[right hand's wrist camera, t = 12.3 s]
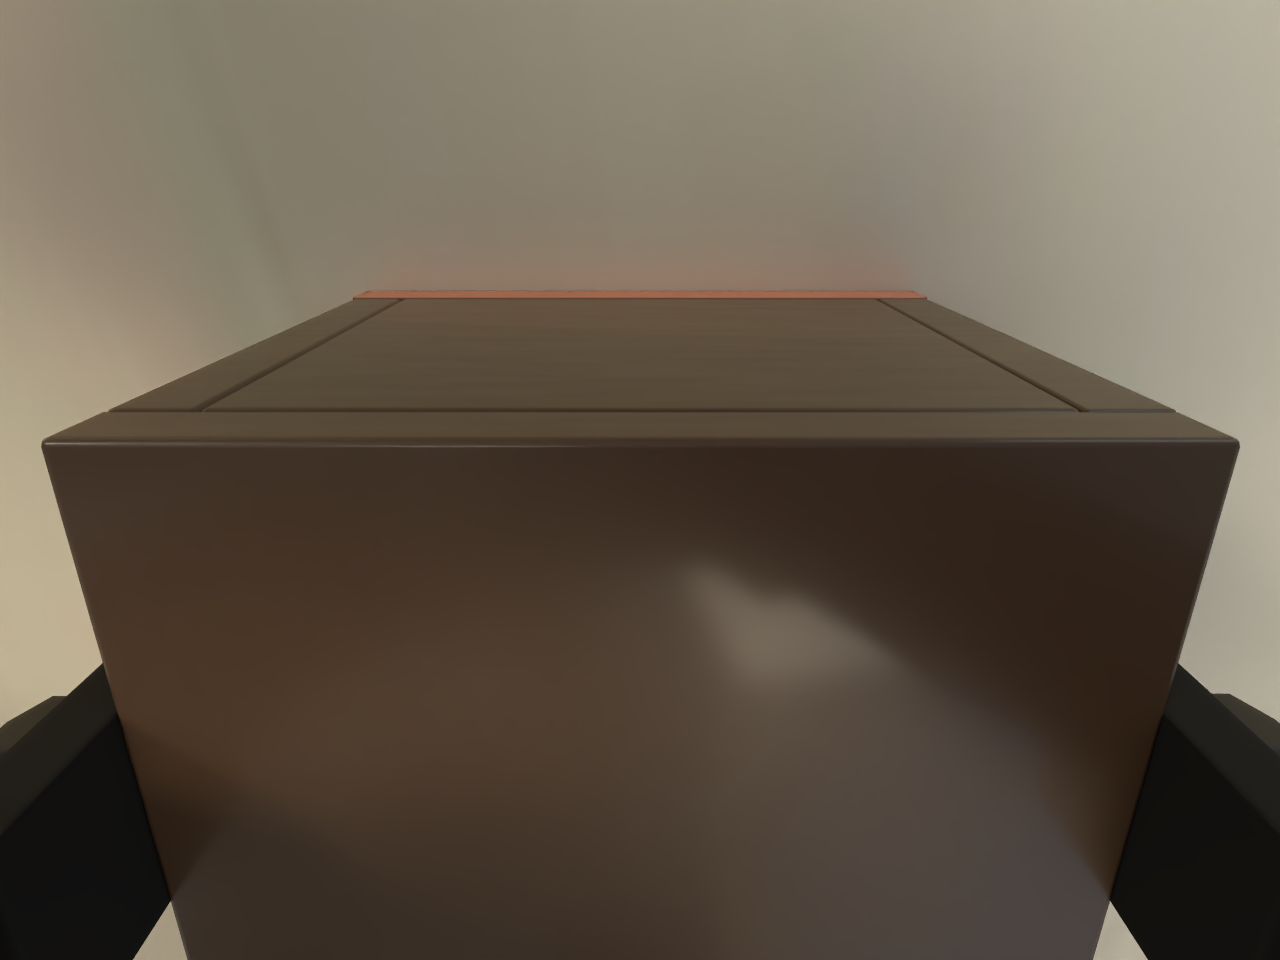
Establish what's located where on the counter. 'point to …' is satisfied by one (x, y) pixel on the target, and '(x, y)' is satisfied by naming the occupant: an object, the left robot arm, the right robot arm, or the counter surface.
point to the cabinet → (640, 628)
